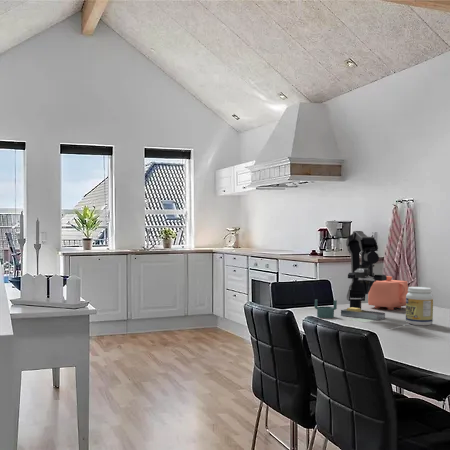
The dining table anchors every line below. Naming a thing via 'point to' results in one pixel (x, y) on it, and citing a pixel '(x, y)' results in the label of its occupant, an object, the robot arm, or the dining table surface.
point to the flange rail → (364, 314)
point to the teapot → (388, 293)
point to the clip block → (354, 309)
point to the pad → (361, 320)
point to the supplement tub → (419, 306)
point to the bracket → (325, 310)
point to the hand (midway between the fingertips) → (366, 294)
